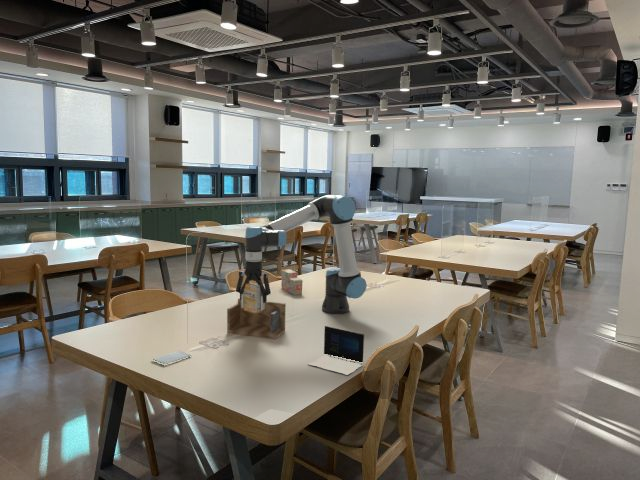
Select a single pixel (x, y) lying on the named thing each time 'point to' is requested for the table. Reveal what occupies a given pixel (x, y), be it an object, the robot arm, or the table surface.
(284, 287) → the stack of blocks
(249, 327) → the small wooden side table
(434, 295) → the table surface
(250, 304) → the supplement box
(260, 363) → the table surface
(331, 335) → the laptop
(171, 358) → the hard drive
